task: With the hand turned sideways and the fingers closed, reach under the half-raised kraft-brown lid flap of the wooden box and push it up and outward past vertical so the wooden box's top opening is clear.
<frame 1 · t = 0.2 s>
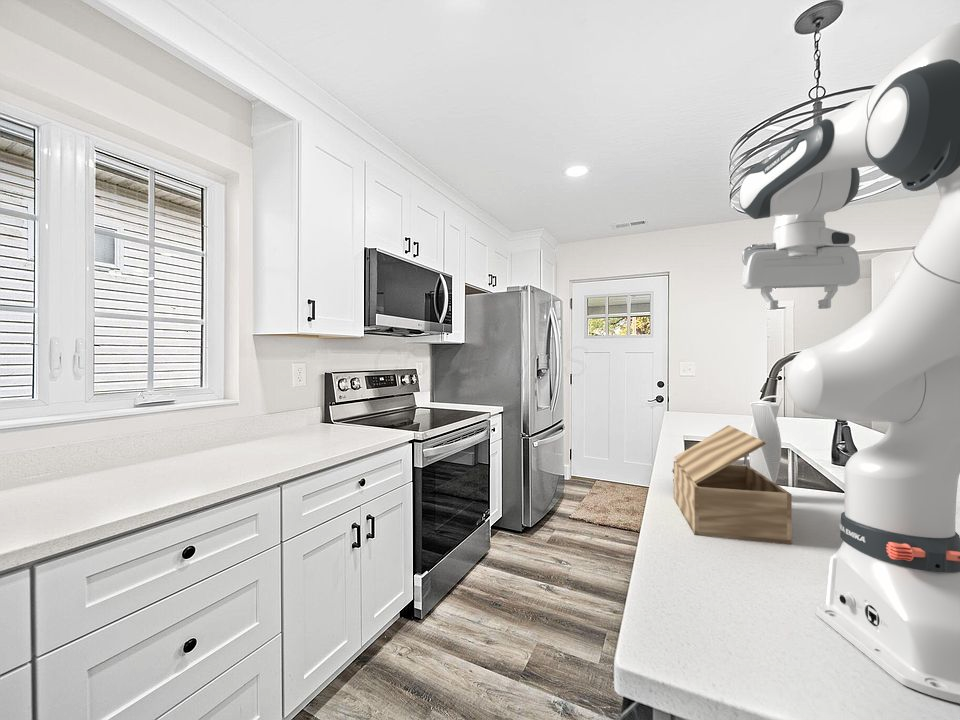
hand: (798, 309, 91), 47 cm above the worktop, tool pointing down, fingers open, 8 cm apart
wooden box: (724, 518, 103), on the worktop
lid flap: (713, 451, 103), point 15 cm above the worktop, hinge at 35.0°
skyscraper: (763, 499, 119), on the worktop
can opener: (682, 489, 127), on the worktop
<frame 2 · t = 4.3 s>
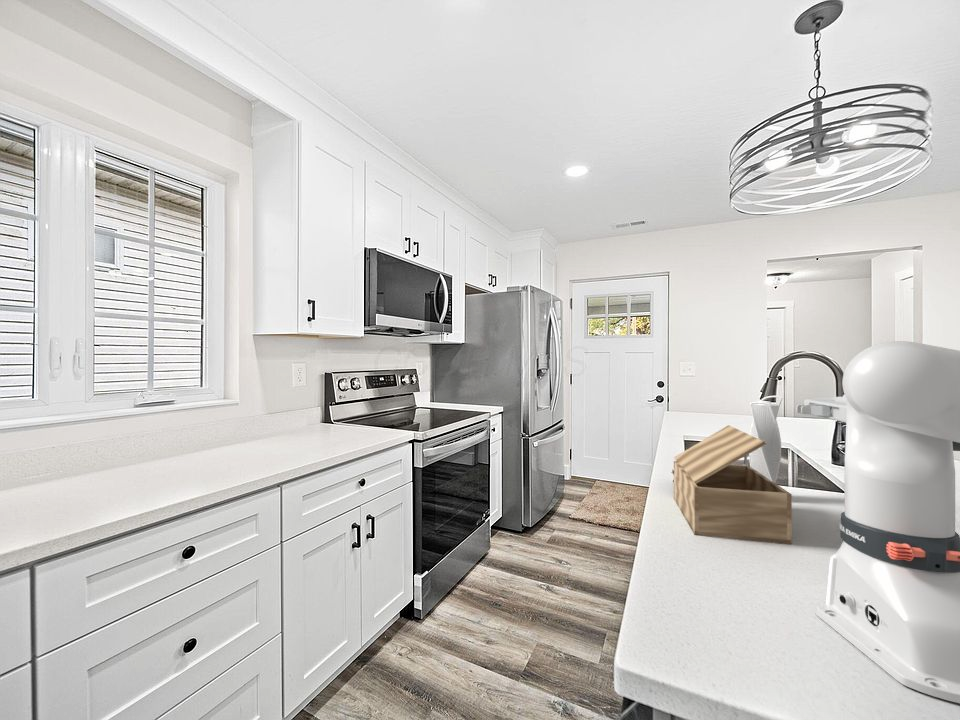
hand: (799, 409, 99), 26 cm above the worktop, tool horizontal, fingers closed
can opener: (683, 491, 126), on the worktop
everything else where it was.
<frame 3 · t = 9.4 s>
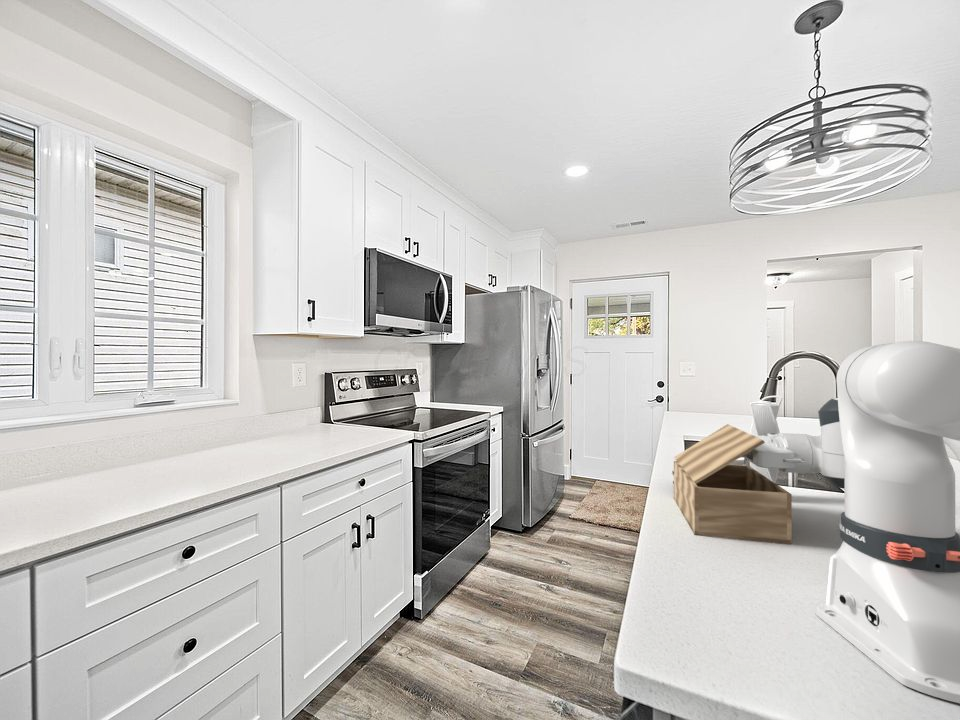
hand: (721, 449, 104), 16 cm above the worktop, tool horizontal, fingers closed, pressing on lid flap
lid flap: (713, 450, 103), point 16 cm above the worktop, hinge at 36.2°, touching gripper
can opener: (684, 492, 125), on the worktop
everything else where it was.
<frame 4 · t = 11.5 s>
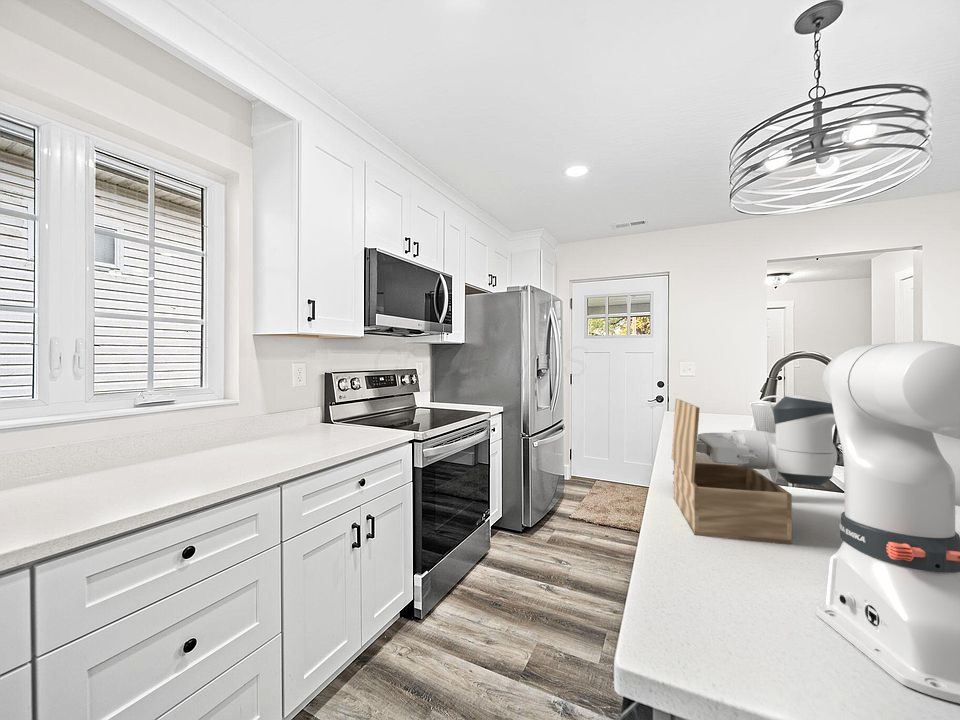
hand: (683, 445, 107), 16 cm above the worktop, tool horizontal, fingers closed, pressing on lid flap
lid flap: (683, 435, 105), point 19 cm above the worktop, hinge at 86.3°, touching gripper
everything else where it was.
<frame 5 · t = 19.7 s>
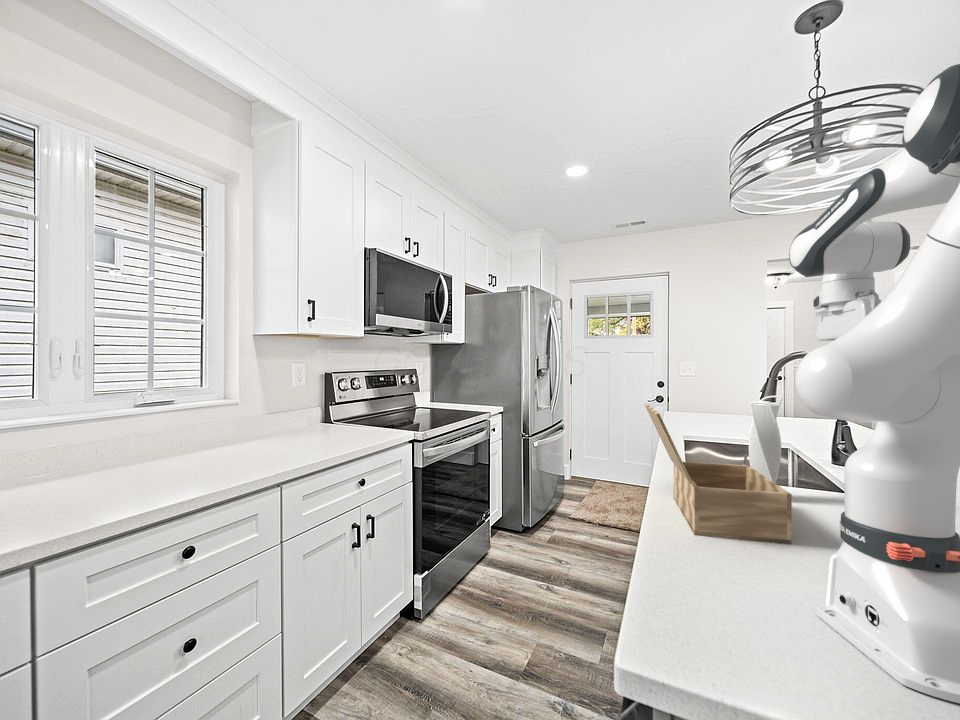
hand: (847, 360, 94), 37 cm above the worktop, tool pointing down, fingers closed
lid flap: (665, 438, 106), point 18 cm above the worktop, hinge at 114.7°
can opener: (690, 492, 124), on the worktop
everything else where it was.
at the end: lid flap at +115° (first picture: +35°); the gripper is holding nothing; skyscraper moved 0.5 cm from its start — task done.
